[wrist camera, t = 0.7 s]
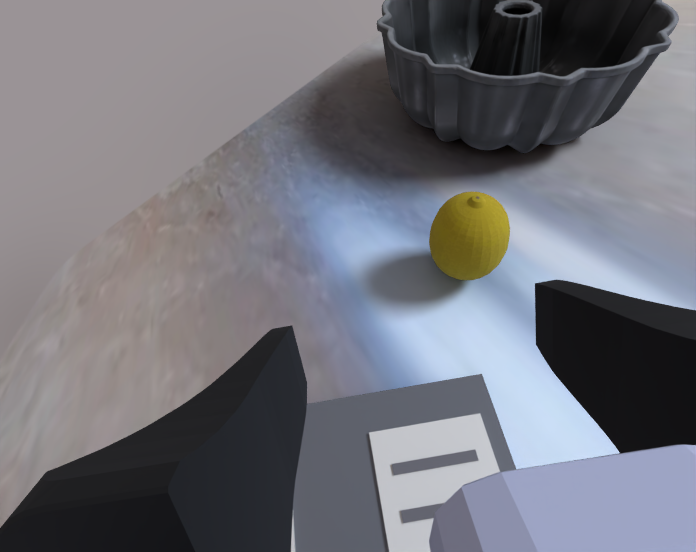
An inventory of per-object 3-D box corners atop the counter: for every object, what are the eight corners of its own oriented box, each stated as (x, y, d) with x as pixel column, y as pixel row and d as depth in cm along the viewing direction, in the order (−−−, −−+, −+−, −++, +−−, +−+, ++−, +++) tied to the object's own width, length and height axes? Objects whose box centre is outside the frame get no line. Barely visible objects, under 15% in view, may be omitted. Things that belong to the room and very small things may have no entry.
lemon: (508, 290, 31) (538, 217, 25) (439, 306, 31) (452, 237, 24) (478, 238, 35) (499, 162, 28) (416, 253, 34) (422, 179, 28)
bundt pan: (415, 40, 57) (419, -48, 49) (625, 58, 49) (671, -41, 41) (346, 155, 43) (335, 60, 35) (623, 206, 35) (691, 99, 27)
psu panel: (559, 604, 20) (567, 606, 19) (143, 680, 20) (132, 685, 19) (479, 378, 27) (482, 372, 26) (171, 431, 27) (164, 427, 26)
